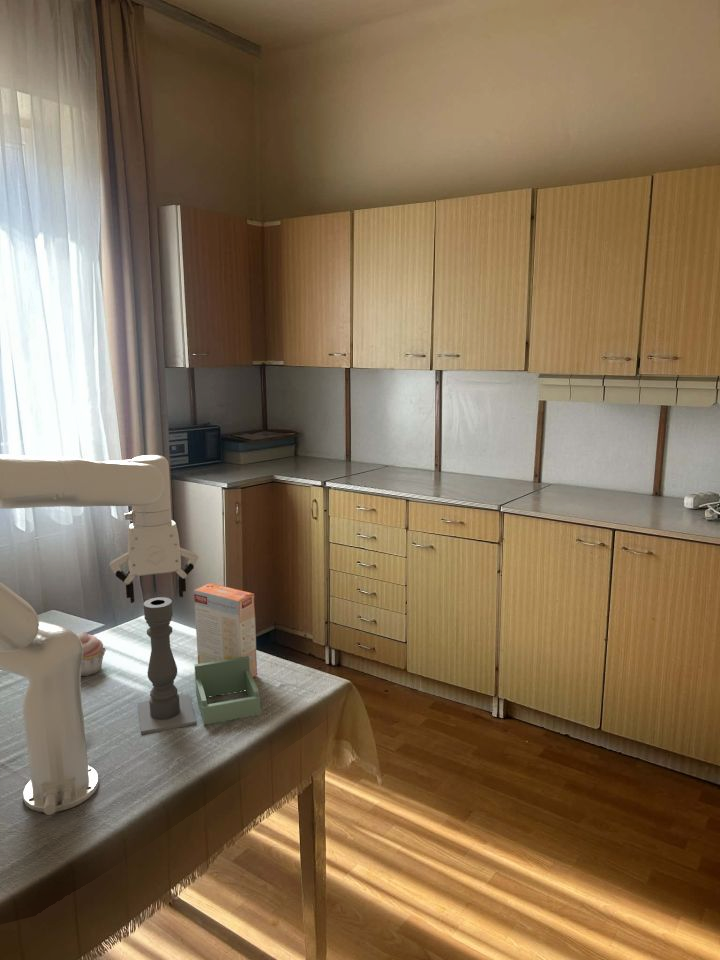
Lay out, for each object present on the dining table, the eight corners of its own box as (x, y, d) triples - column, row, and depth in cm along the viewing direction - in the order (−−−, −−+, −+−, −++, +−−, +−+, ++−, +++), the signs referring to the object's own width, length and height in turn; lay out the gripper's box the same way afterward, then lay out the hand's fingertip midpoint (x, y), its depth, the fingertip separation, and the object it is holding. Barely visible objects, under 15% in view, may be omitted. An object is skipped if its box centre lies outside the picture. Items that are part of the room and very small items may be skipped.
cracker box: (258, 675, 173) (255, 592, 168) (241, 686, 168) (237, 601, 163) (214, 661, 180) (210, 581, 176) (197, 670, 175) (192, 588, 171)
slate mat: (195, 724, 153) (195, 721, 153) (141, 734, 149) (140, 731, 149) (189, 696, 164) (188, 694, 164) (137, 705, 160) (137, 702, 160)
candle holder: (185, 711, 156) (179, 602, 151) (160, 723, 152) (152, 610, 146) (169, 701, 160) (162, 594, 155) (144, 712, 156) (136, 602, 150)
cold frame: (260, 714, 156) (259, 680, 154) (203, 725, 152) (201, 690, 150) (249, 688, 167) (248, 656, 165) (196, 697, 163) (194, 664, 162)
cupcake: (116, 668, 177) (112, 629, 175) (82, 683, 170) (78, 643, 167) (93, 657, 182) (89, 620, 180) (58, 672, 175) (54, 633, 173)
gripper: (106, 525, 140) (112, 609, 144) (198, 518, 146) (201, 599, 150) (106, 516, 147) (111, 596, 151) (193, 509, 153) (197, 587, 156)
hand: (156, 597), depth 150 cm, fingers open, 9 cm apart
